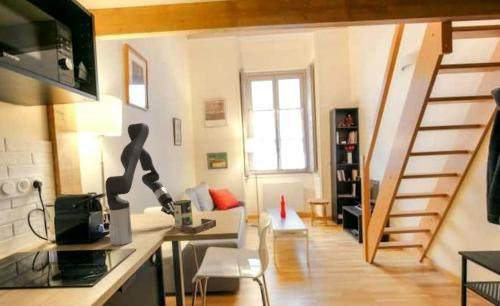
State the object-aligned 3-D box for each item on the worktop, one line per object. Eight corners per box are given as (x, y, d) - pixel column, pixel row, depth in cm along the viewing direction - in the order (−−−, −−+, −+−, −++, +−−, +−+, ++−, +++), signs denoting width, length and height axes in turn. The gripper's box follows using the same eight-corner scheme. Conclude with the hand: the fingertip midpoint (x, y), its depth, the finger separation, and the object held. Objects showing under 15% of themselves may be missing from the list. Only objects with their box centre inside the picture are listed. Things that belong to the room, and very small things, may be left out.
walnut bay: (194, 233, 146) (194, 227, 146) (181, 230, 152) (180, 225, 152) (216, 225, 158) (215, 219, 158) (202, 223, 165) (202, 218, 165)
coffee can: (194, 222, 168) (192, 199, 168) (190, 227, 158) (188, 202, 158) (177, 223, 168) (175, 200, 168) (172, 228, 158) (170, 203, 158)
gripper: (156, 194, 166) (170, 216, 159) (174, 190, 177) (188, 211, 170) (151, 202, 170) (165, 225, 163) (169, 198, 180) (183, 219, 173)
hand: (177, 218), depth 166 cm, fingers closed
